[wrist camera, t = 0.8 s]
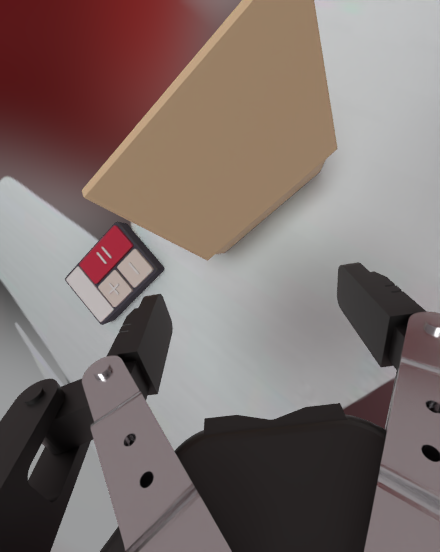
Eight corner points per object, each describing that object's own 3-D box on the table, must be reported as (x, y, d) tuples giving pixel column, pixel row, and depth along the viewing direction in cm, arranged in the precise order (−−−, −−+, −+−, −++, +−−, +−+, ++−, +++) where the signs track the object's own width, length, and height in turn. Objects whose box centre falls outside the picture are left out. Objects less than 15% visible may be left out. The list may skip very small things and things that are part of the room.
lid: (332, 144, 26) (337, 148, 26) (204, 255, 31) (207, 260, 31) (294, -63, 13) (304, -60, 12) (81, 190, 18) (84, 197, 17)
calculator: (156, 270, 41) (98, 327, 44) (167, 268, 45) (114, 320, 48) (113, 219, 41) (60, 279, 45) (128, 222, 46) (78, 277, 49)
